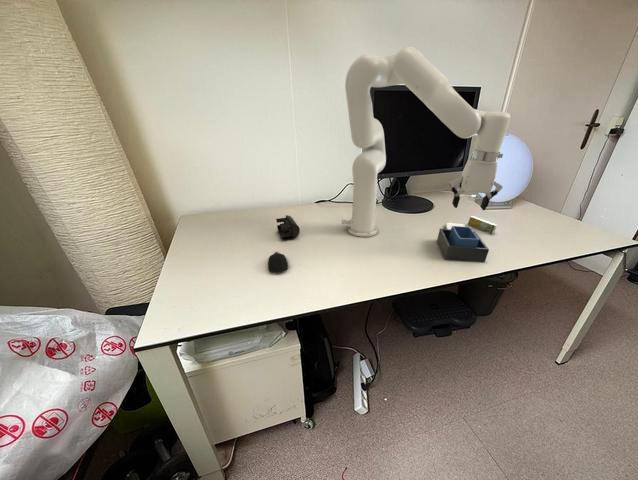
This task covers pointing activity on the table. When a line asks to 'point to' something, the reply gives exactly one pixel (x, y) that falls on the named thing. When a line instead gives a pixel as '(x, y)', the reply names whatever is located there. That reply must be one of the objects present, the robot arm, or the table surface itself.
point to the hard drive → (449, 225)
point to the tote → (461, 249)
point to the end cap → (288, 228)
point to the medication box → (482, 224)
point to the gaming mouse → (277, 263)
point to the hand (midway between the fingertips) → (468, 207)
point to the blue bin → (463, 237)
